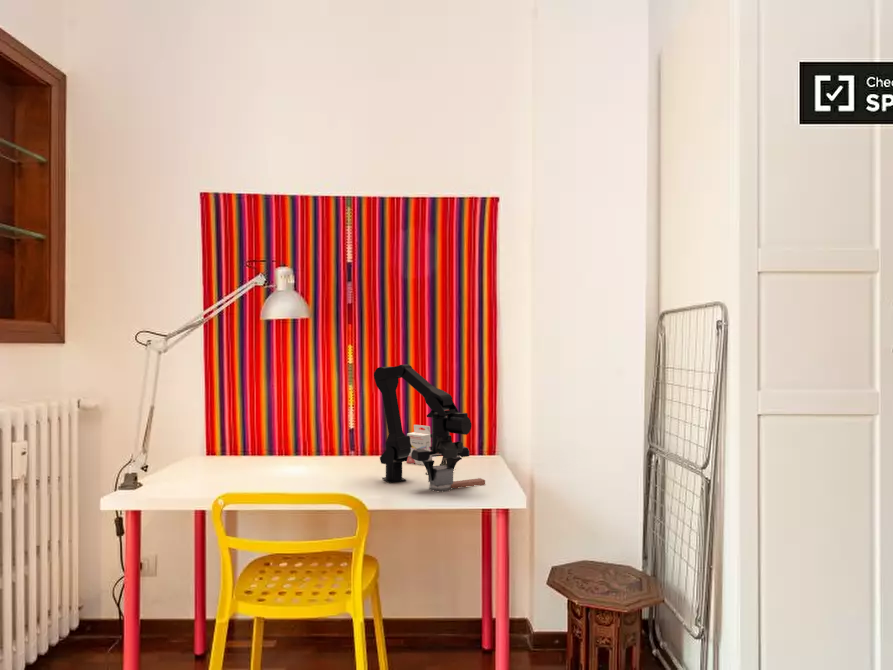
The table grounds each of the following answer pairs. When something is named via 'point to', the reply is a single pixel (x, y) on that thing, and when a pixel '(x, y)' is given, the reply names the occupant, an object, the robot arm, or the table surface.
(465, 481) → the hammer
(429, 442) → the ink cartridge box
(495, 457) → the table surface
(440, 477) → the socket
